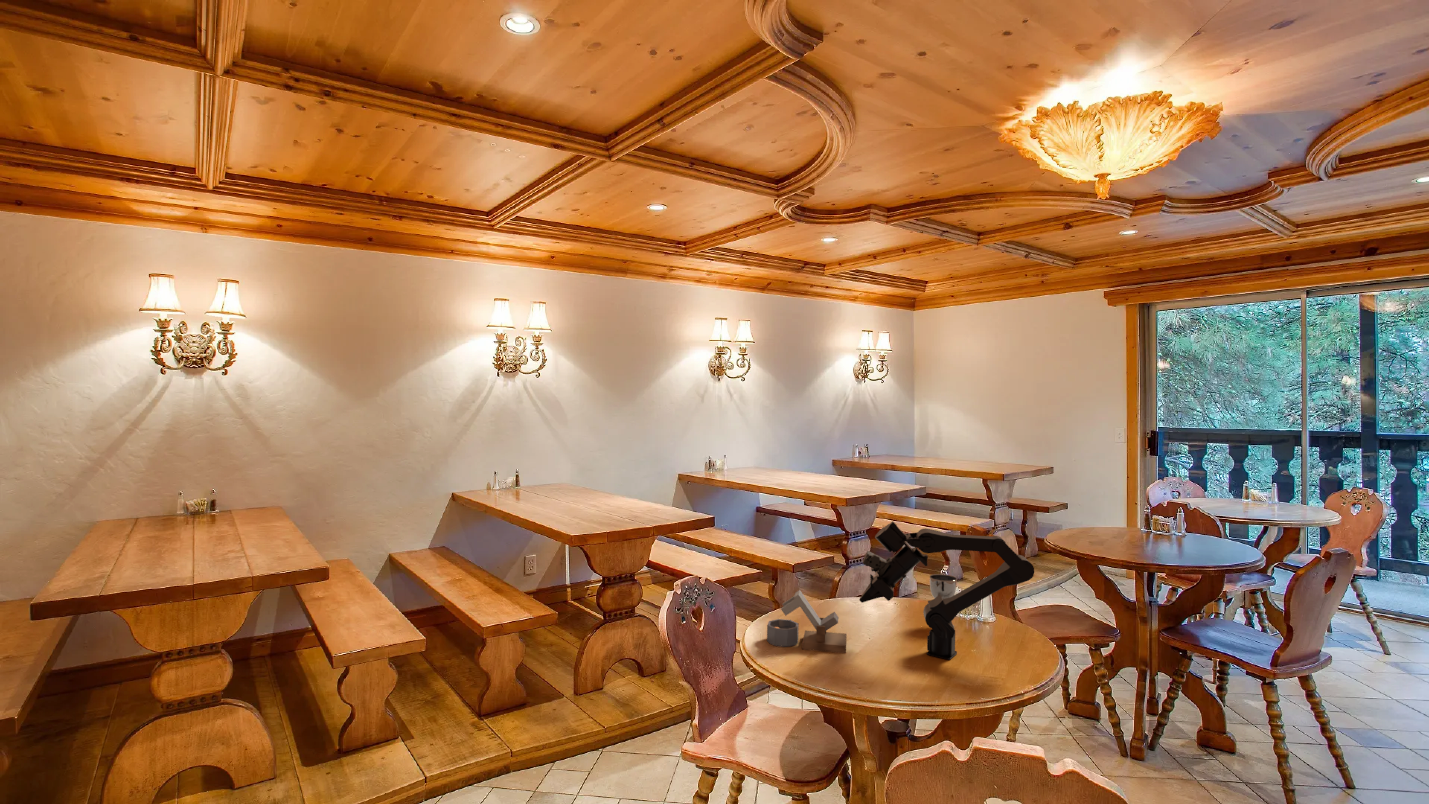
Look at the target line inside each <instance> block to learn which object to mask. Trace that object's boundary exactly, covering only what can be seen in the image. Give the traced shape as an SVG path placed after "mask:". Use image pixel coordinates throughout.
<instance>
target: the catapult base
mask: <svg viewBox="0 0 1429 804" xmlns="http://www.w3.org/2000/svg"><path fill="white" fill-rule="evenodd" d="M819 618H820V619H821V620H822V619H824V618H825V617H819ZM815 630H816V629H815ZM815 630H804V633H803V634H804V635H803V639H802V645H801V646H802V647H801V648H802V650H804V651H816V652H817V651H818V652H827V653H828V652H831V653H839V654H840V653H842V654H846V653H847V640H848V639H847V633H843V632H842V633H841V632H833V631H832V632H831V631H830V632H829V631H825V626H819V625H817V630H816V631H815Z"/></svg>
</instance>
